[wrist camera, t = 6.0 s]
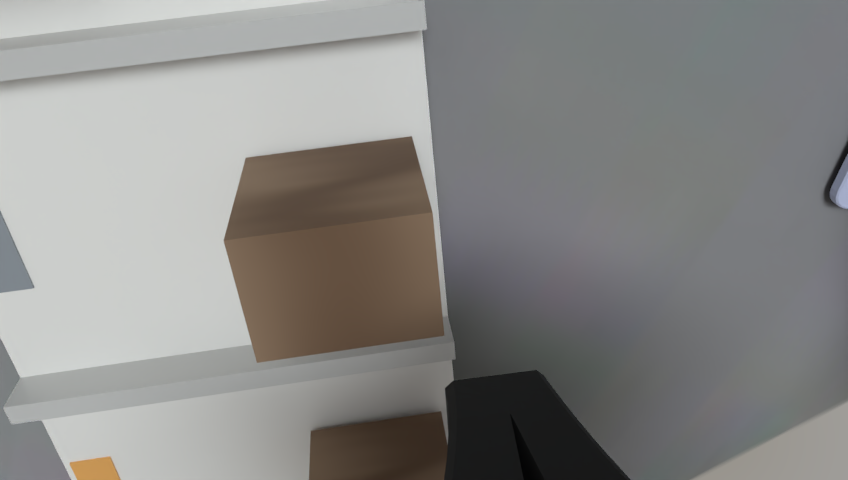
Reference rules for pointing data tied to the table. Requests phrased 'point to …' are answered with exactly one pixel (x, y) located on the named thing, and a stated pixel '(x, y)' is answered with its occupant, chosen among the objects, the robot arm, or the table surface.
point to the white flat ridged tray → (187, 225)
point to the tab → (381, 450)
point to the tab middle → (334, 250)
